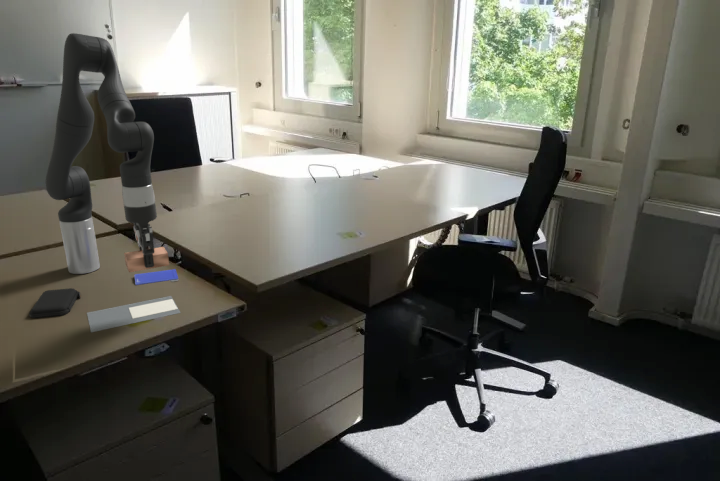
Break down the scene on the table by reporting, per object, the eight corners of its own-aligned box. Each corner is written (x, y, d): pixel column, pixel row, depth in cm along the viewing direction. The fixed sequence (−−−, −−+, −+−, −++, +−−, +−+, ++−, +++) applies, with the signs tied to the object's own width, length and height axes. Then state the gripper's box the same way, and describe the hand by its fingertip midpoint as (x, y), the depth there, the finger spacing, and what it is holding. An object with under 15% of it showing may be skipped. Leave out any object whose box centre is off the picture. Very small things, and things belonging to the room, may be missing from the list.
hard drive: (135, 283, 160) (178, 277, 165) (134, 273, 167) (175, 268, 172) (135, 288, 161) (178, 282, 165) (134, 278, 168) (175, 272, 172)
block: (164, 258, 146) (163, 246, 145) (169, 265, 142) (167, 253, 141) (126, 265, 142) (124, 252, 140) (129, 272, 137) (127, 259, 136)
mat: (87, 314, 143) (86, 312, 143) (171, 297, 154) (171, 295, 154) (91, 334, 134) (90, 331, 134) (180, 314, 144) (180, 312, 144)
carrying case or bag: (72, 318, 142) (84, 294, 156) (70, 308, 141) (83, 285, 155) (28, 322, 140) (44, 298, 153) (26, 312, 139) (42, 288, 152)
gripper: (160, 206, 132) (167, 269, 137) (149, 193, 143) (156, 252, 149) (127, 210, 128) (136, 275, 134) (119, 197, 140) (128, 256, 146)
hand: (147, 262), depth 141 cm, fingers closed on block, 5 cm apart
